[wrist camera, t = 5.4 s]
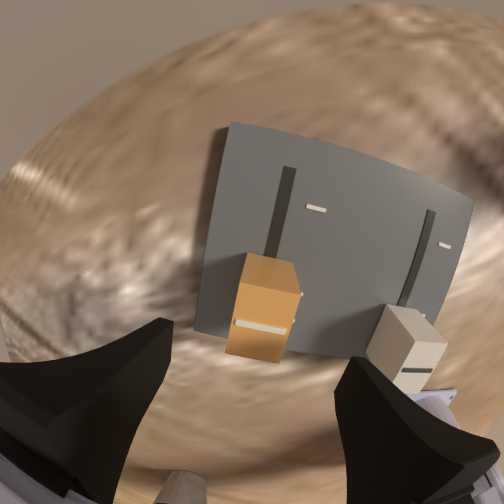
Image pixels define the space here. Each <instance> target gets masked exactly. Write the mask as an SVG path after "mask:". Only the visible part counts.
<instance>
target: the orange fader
mask: <svg viewBox="0 0 504 504" xmlns="http://www.w3.org/2000/svg"><path fill="white" fill-rule="evenodd" d="M300 298H301V292H300V288H299V284H298V280H297V276H296V272H295V268H294V265H293V262H289V261H285V260H280V259H276V258H271V257H266V256H262V255H257V254H253V253H247V257H246V261H245V264H244V268H243V272H242V275H241V279H240V283H239V288H238V292H237V297H236V302H235V307H234V312H233V317H232V321H231V326H230V331H229V336H228V341H227V346H226V351H225V353H227V354H231V355H236V356H241V357H246V358H251V359H256V360H262V361H267V362H273V363H280V360H281V357H282V354H283V351H284V348H285V345H286V342H287V339H288V336H289V333H290V330H291V327H292V323H293V320H294V317H295V314H296V311H297V307H298V304H299V301H300Z"/></svg>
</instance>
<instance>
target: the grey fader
mask: <svg viewBox="0 0 504 504" xmlns="http://www.w3.org/2000/svg"><path fill="white" fill-rule="evenodd" d="M447 345H448V343H447V342H446V341H445V340H444V338H443V337H442V336H441V335H440V334H439V333H438V332H437V331H436V330H435V328H434V327H433V326H432V325H431V324H430V323H429V322H428V321H427V320H426V319H425V318H424V317H423V316H422V315H421V313H420V312H419V311H418V310H417V309H412V308H406V307H400V306H395V305H389V304H386V306H385V308H384V311H383V313H382V316H381V318H380V320H379V323H378V325H377V327H376V330H375V332H374V334H373V336H372V339H371V341H370V343H369V345H368V347H367V349H366V353H367V355H368V357H369V359H370V361H371V363H372V364H373V365H374V366H375V367H377V368H378V369H379V370H380V371H381V372H382V373H383V374H384V375H385V376H386V377H387V378H388V379H389V380H390V381H391V382H392V383H393V384H394V385H396V386H397V387H398V388H399V389H400V390H401V391H402V392H403V393H404V394H419V393H420V391H421V389H422V388H423V386H424V385H425V383H426V382H427V380H428V379H429V377H430V375H431V374H432V372H433V370H434V369H435V367H436V365H437V363H438V362H439V360H440V358H441V356H442V355H443V353H444V351H445V349H446V347H447Z"/></svg>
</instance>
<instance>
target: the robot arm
mask: <svg viewBox="0 0 504 504" xmlns="http://www.w3.org/2000/svg"><path fill="white" fill-rule="evenodd" d="M173 323H174V321H170V320H167V319H163V318H160V317H159V318H157V319H155V320H153V321H152V322H150V323H148V324H146V325H144V326H143V327H141V328H139V329H137V330H135V331H134V332H132V333H130V334H128V335H126V336H124V337H122V338H120V339H118V340H116V341H113V342H111V343H109V344H107V345H105V346H102V347H100V348H97V349H94V350H91V351H88V352H85V353H82V354H79V355H75V356H70V357H66V358H61V359H57V360H50V361H43V362H31V363H6V362H5V363H4V362H0V504H113V500H114V496H115V492H116V489H117V485H118V482H119V478H120V475H121V472H122V469H123V466H124V463H125V460H126V457H127V454H128V451H129V449H130V446H131V443H132V441H133V438H134V435H135V433H136V430H137V428H138V426H139V424H140V422H141V420H142V418H143V416H144V414H145V412H146V411H147V409H148V407H149V405H150V404H151V402H152V400H153V398H154V396H155V395H156V393H157V391H158V389H159V387H160V386H161V384H162V382H163V380H164V377H165V375H166V372H167V370H168V367H169V364H170V362H171V349H172V335H173ZM456 394H457V390H456V389H449V390H433V391H420V393H419V394H404V393H403V392H402V391H401V390H400V389H399V388H398V387H397V386H396V385H394V384H393V383H392V382H391V381H390V380H389V379H388V378H387V377H386V376H385V375H384V374H383V373H382V372H381V371H380V370H379V369H378V368H377V367H375V366H374V365H373V364H372V363H371V362H370V361H369V360H367V359H366V358H365V357H357V356H352V357H351V359H350V361H349V363H348V365H347V367H346V369H345V371H344V373H343V375H342V377H341V379H340V381H339V383H338V385H337V387H336V389H335V391H334V398H335V411H336V416H337V421H338V426H339V430H340V435H341V439H342V444H343V449H344V453H345V460H346V473H347V504H504V478H503V476H502V474H501V472H500V470H499V468H498V466H497V464H496V461H497V460H498V459H499V457H500V451H499V449H498V447H497V446H496V444H495V442H494V441H493V440H491V439H487V438H483V437H480V436H476V435H473V434H470V433H468V432H465V431H463V430H461V428H460V426H459V424H458V423H457V421H456V419H455V418H454V416H453V414H452V413H451V411H450V409H449V408H448V405H449V404H450V402H451V401H452V399H453V398H454V397H455V395H456Z"/></svg>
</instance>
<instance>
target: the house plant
mask: <svg viewBox="0 0 504 504" xmlns="http://www.w3.org/2000/svg"><path fill="white" fill-rule="evenodd" d="M153 504H207V495H206V480H205V479H204V478H203V477H201V476H200V475H197V474H195V473H192V472H188V471H183V470H175V471H172V472H171V473H170V475H169V477H168V478H167V480H166V482H165V484H164V486H163V487H162V489H161V491H160V493H159V494H158V496H157V498H156V500H155V501H154V503H153Z"/></svg>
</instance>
